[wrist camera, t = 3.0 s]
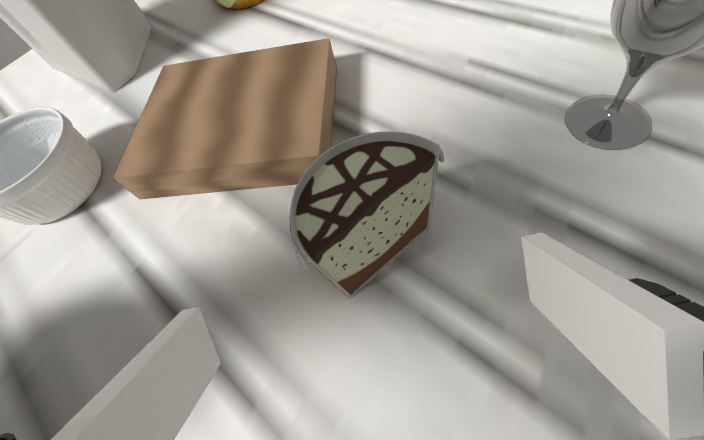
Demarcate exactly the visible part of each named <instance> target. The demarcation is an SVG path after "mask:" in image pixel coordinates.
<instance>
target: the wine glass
mask: <svg viewBox="0 0 704 440" xmlns="http://www.w3.org/2000/svg"><path fill="white" fill-rule="evenodd" d="M610 24H611V30H612V33H613V36H614V38H615V40H616V42H617V43H618V45H619V47H620V49H621V50H622V52H623V54H624V55H625V59H626V64H627V67H626V73H625V76H624V79H623V81H622V84H621V86H620V89H619V91H618V93H617V95H616V96H615V95H603V94H602V95H592V96H588V97H585V98H582V99H580V100H578V101H576V102H575V103H573V104H572V105H571V106H570V107H569V109H568V110H567V112H566V116H565V122H566V125H567V127H568V129H569V131H570V132H571V133H572V134H573V135H574V136H575V137H576V138H577V139H579V140H580V141H582V142H584V143H586V144H588V145H590V146H593V147H597V148H601V149H608V150H621V149H627V148H631V147H634V146H637V145H639V144H641V143H642V142H643V141H645V140H646V139H647V138H648V136H649V135H650V133H651V130H652V122H651V118H650V116H649V115H648V113H647V112H646V111H645V110H644V109H643V108H642V107H641V106H640V105H638V104H637V103H635V102H633V101H631V100H629V99H626V97H627V96H628V94H629V93H630V92H631V90H632V89H633V88H634V86H635V85H636V84H637V82H638V81H639V80H640V79H641V78H642V77H643V76H644V74H645V73H647V72H648V71H649V70H651V69H652V68H654V67H656V66H658V65H660V64H662V63H665V62H667V61H670V60H673V59H676V58H679V57H682V56H684V55H687V54H690V53H692V52H694V51H696V50H698V49H701V48H703V47H704V0H613V3H612V9H611V22H610Z"/></svg>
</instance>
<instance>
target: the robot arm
mask: <svg viewBox="0 0 704 440" xmlns="http://www.w3.org/2000/svg"><path fill="white" fill-rule="evenodd" d="M521 240H522V247H523V254H524V262H525V269H526V276H527V283H528V291H529V298H530V302H531V303H532V304H533V305H534V306H535V307H536V308H537V309H538V310H539V311H540V312H541V313H542V314H543V315H544V316H545V317H546V318H547V319H548V320H549V321H550V322H551V323H552V324H553V325H554V326H555V327H556V328H557V329H558V330H559V331H560V332H561V333H562V334H563V335H564V336H565V337H566V338H567V339H568V340H569V341H570V342H571V343H572V344H573V345H574V346H575V347H576V348H577V349H578V350H579V351H580V352H581V353H582V354H583V355H584V356H585V357H586V358H587V359H588V360H589V361H590V362H591V363H592V364H593V365H594V366H595V367H596V368H597V369H598V370H599V371H600V372H601V373H602V374H603V375H604V376H605V377H606V378H607V379H608V380H609V381H610V382H611V383H612V384H613V385H614V386H615V387H616V388H617V389H618V390H619V391H620V392H621V393H622V394H623V395H624V396H625V397H626V398H627V399H628V400H629V401H630V402H631V403H632V404H633V405H634V406H635V407H636V408H637V409H638V410H639V411H640V412H641V413H642V414H643V415H644V416H645V417H646V418H647V419H648V420H649V421H650V422H651V423H652V424H653V425H654V426H655V427H656V428H657V429H658V430H659V431H660V432H661V433H662V434H663V435H664V436H665V437H666V438H667V439H668V440H678V439H684V438H690V437H697V436H703V435H704V307H703V306H701V305H699V304H697V303H695V302H691V301H690V300H689V299H687V298H685V297H683V296H681V295H677V294H676V293H675V292H673V291H671V290H669V289H668V288H666V287H664V286H662V285H660V284H657V283H653V282H649V281H645V280H642V279H638V278H636V279H631V280H627V279H625V278H623V277H621V276H620V275H618V274H616V273H614V272H612V271H610V270H609V269H607V268H605V267H603V266H601V265H600V264H598V263H596V262H594V261H592V260H591V259H589V258H587V257H585V256H583V255H582V254H580V253H578V252H576V251H574V250H572V249H571V248H569V247H567V246H565V245H563V244H562V243H560V242H558V241H556V240H554V239H553V238H551V237H549V236H547V235H545V234H544V233H542V232H541V233H536V234H531V235H527V236H522V237H521ZM220 364H221V363H220V360H219V357H218V354H217V352H216V349H215V346H214V344H213V341H212V338H211V336H210V333H209V330H208V328H207V325H206V322H205V320H204V317H203V314H202V311H201V309H200V306H198V307H194V308H189V309H185V310H182V311H181V312H180V313H179V314H178V315H177V316H176V317H175V318H174V319H173V320H172V321H171V322H170V323H169V324H168V325H166V326H165V327H164V328H163V329H162V330H161V331H160V332H159V333H158V334H157V335H156V336H155V337H154V338H153V339H152V340H151V341H150V342H149V343H148V344H147V345H146V346H145V347H144V348H143V349H142V350H141V351H140V352H139V353H138V354H137V355H136V356H135V357H134V358H133V359H132V360H131V361H130V362H129V363H128V364H127V365H126V366H125V367H124V368H123V369H122V370H121V371H120V372H119V373H118V374H117V375H116V376H115V377H114V378H113V379H112V380H111V381H110V382H109V383H108V384H107V385H106V386H105V387H104V388H102V389H101V390H100V391H99V392H98V393H97V394H96V395H95V396H94V397H93V398H92V399H91V400H90V401H89V402H88V403H87V404H86V405H85V406H84V407H83V408H82V409H81V410H80V411H79V412H78V413H77V414H76V415H75V416H74V417H73V418H72V419H71V420H70V421H69V422H68V423H67V424H66V425H65V426H64V427H63V428H62V429H61V430H60V431H59V432H58V433H56V434H55V435H54V436H53V437H52V438H51V439H50V440H174V439H175V437H176V436H177V434H178V432H179V431H180V429H181V428H182V426H183V424H184V423H185V421H186V419H187V418H188V416H189V415H190V413H191V411H192V410H193V408H194V406H195V405H196V403H197V401H198V400H199V398H200V397H201V395H202V393H203V392H204V390H205V388H206V387H207V385H208V384H209V382H210V380H211V379H212V377H213V375H214V374H215V372H216V370H217V369H218V367H219V366H220ZM0 440H17V439H16V438H15V436H14V434H9V433H7V434H3V435H0Z"/></svg>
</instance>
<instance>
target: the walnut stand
mask: <svg viewBox="0 0 704 440" xmlns="http://www.w3.org/2000/svg"><path fill="white" fill-rule="evenodd" d="M336 71H337V67H336V63H335V59H334V55H333V51H332V47H331V43H330V39H329V38H328V39H322V40H316V41H310V42H304V43H298V44H292V45H286V46H280V47H274V48H268V49H262V50H256V51H250V52H244V53H238V54H232V55H226V56H220V57H214V58H208V59H202V60H196V61H190V62H184V63H178V64H172V65H166V66H163V68H162V70H161V72H160V75H159V77H158V79H157V81H156V83H155V86H154V88H153V90H152V92H151V95H150V97H149V99H148V101H147V103H146V106H145V108H144V110H143V112H142V114H141V117H140V119H139V121H138V123H137V126H136V128H135V130H134V132H133V134H132V137H131V139H130V141H129V143H128V145H127V148H126V150H125V152H124V154H123V157H122V159H121V161H120V163H119V165H118V168H117V170H116V172H115V174H114V176H113V178H114V179H115V180H116V181H117V182H119V183H120V184H121V185H122V186H124V187H125V188H126V189H127V190H129V191H130V192H131V193H132V194H134V195H135V196H136V197H137V198H139V199H147V198H158V197H168V196H179V195H189V194H200V193H210V192H221V191H231V190H241V189H252V188H262V187H273V186H283V185H294V184H298V182H299V180H300V179H301V177H302V176H303V174H304V173H305V171H306V170H307V169H308V167H309V166H310V165H311V164H312V163H313V162H314V161H315V160H316V159H317V158H318V157H319V156H321V155H322V154H323V153H324V152H326V151H327V150H329V149H330V148H331V144H332V129H333V115H334V100H335V85H336Z"/></svg>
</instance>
